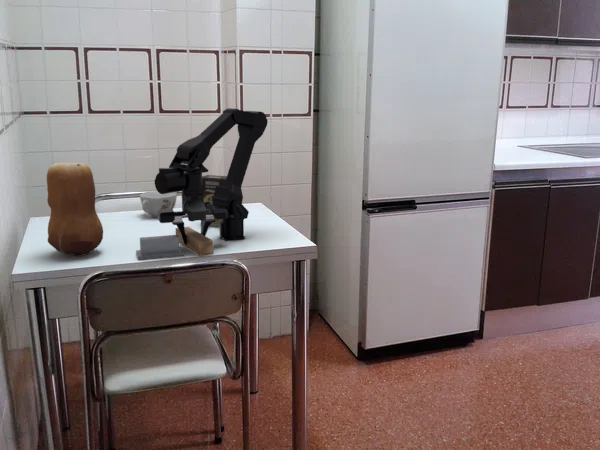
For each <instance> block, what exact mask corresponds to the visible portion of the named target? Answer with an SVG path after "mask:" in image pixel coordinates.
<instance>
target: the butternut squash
mask: <svg viewBox="0 0 600 450" xmlns="http://www.w3.org/2000/svg"><path fill="white" fill-rule="evenodd" d="M46 172H47V173H46V185H47V188H46V190H47V201H46V202H47V205H48V206H49V208H50V215H49V221H48V225H47V237H48V238H47V242H48V244H49V245H51V247H53V248H54V249H55V250H56V251H57V252H59V253H63V254H66V255H74V256H76V257H77V256H78V257H79V256H85V255H89V254H90V253H91V252H92V251H94V250H95V249H97V248H98V247H99V246H100V244H101V243H102V241H103V239H104V228H103V224H102V222H101V219H100V217H99V215H98V214H97V210H96V186H95V180H94V175H93V172H92V169H91V168H90V167H89V166H88V165H87V164H86V163H83V162H64V161H61V162H56V163H54V164H51V166H49V167H48V169H47V171H46Z"/></svg>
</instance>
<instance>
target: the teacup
mask: <svg viewBox="0 0 600 450" xmlns="http://www.w3.org/2000/svg"><path fill="white" fill-rule="evenodd" d="M177 193H178V192H173V193H167V194H160V193H159V192H158V191H147V192H146V191H145V192H143V193H141V194H139V198H140V203H141V206H142V207H141V208H142V211H144V213H146V214H148V215H150V216H151V218H156V217H158V211H159V209H172V210H173V211H174V208H175V206H176V203H177V197H178V195H177Z"/></svg>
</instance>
